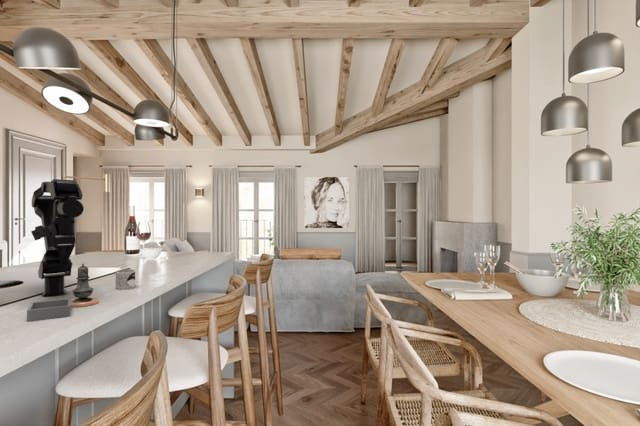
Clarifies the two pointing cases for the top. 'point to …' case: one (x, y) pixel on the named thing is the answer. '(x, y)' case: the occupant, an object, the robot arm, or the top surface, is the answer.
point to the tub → (49, 309)
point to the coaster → (85, 303)
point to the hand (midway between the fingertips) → (64, 264)
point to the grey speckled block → (125, 279)
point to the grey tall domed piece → (82, 286)
